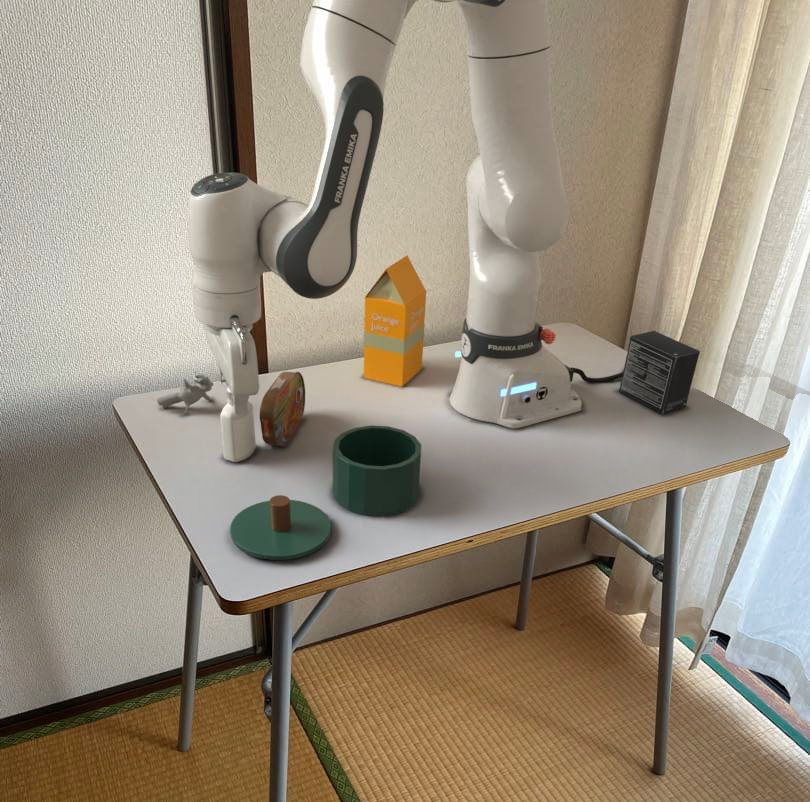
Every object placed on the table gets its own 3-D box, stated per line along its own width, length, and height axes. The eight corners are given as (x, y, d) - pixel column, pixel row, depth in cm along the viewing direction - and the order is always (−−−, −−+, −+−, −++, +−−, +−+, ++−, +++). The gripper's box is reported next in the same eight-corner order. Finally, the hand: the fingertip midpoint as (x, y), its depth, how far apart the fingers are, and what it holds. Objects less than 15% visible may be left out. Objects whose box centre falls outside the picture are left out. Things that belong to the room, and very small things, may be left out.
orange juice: (422, 368, 158) (429, 258, 146) (402, 387, 151) (407, 273, 139) (383, 359, 160) (387, 250, 149) (362, 377, 153) (364, 264, 142)
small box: (688, 407, 149) (703, 350, 143) (662, 416, 146) (676, 357, 140) (642, 384, 156) (655, 328, 150) (617, 391, 153) (628, 335, 147)
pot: (400, 465, 129) (403, 420, 125) (431, 508, 120) (434, 461, 116) (323, 477, 125) (322, 431, 121) (348, 522, 116) (348, 474, 112)
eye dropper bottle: (263, 455, 130) (259, 382, 123) (228, 465, 127) (222, 390, 120) (250, 443, 133) (245, 370, 126) (216, 452, 130) (209, 378, 123)
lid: (315, 500, 120) (315, 468, 117) (343, 553, 111) (343, 519, 108) (222, 515, 116) (219, 482, 113) (242, 571, 107) (239, 537, 104)
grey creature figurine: (168, 394, 145) (218, 377, 144) (177, 427, 144) (227, 411, 143) (141, 378, 135) (194, 360, 134) (150, 414, 135) (203, 396, 133)
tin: (278, 456, 130) (275, 405, 125) (258, 453, 130) (255, 402, 125) (307, 411, 142) (306, 363, 137) (289, 409, 142) (287, 361, 137)
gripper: (268, 331, 110) (272, 428, 118) (235, 277, 125) (241, 366, 133) (218, 335, 108) (225, 434, 116) (191, 280, 123) (199, 371, 131)
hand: (233, 397), depth 124 cm, fingers open, 8 cm apart
